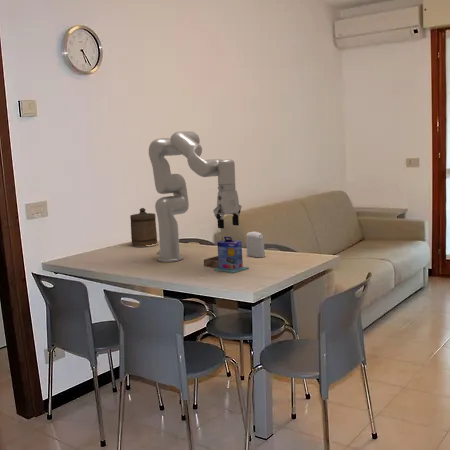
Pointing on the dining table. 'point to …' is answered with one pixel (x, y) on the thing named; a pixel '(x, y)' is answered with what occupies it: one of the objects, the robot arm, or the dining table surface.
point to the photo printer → (255, 244)
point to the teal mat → (231, 270)
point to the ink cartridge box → (230, 254)
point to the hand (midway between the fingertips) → (228, 226)
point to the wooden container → (143, 228)
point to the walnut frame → (212, 262)
